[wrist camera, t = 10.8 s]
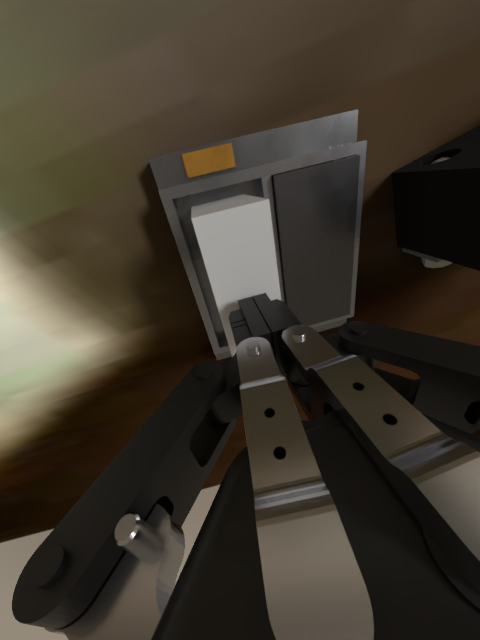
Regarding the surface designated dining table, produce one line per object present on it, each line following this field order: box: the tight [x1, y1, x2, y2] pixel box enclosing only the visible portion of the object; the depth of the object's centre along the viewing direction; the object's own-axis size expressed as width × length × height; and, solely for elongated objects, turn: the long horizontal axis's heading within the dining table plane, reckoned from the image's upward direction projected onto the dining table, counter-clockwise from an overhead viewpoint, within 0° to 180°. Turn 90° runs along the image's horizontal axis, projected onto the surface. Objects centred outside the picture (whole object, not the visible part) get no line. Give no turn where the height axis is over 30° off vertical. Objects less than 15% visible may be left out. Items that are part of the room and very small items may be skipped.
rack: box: [148, 109, 367, 360], centre depth 18 cm, size 16×13×3 cm
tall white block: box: [191, 194, 281, 357], centre depth 15 cm, size 10×4×6 cm, turn 12°
